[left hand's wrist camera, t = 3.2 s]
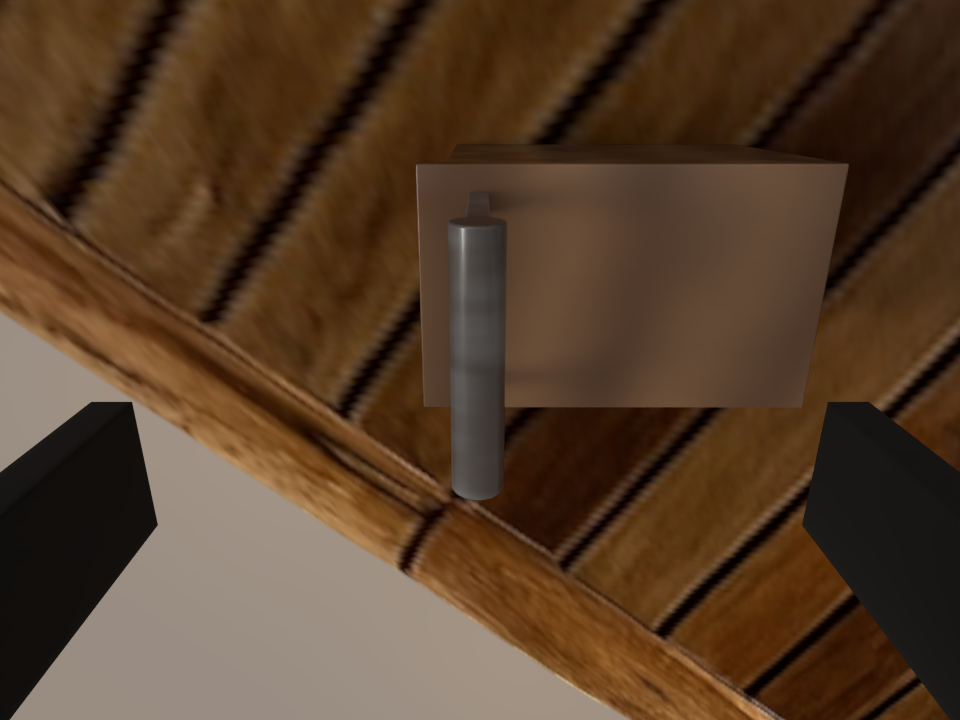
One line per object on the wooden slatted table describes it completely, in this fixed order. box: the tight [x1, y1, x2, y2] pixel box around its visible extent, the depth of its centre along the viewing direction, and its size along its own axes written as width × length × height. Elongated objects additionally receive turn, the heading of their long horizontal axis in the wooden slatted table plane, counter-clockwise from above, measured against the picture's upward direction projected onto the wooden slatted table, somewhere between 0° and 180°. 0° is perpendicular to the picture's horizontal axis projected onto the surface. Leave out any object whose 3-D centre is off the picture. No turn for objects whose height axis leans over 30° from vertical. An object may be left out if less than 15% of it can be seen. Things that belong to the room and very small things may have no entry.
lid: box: [416, 162, 849, 500], centre depth 21 cm, size 15×9×9 cm, turn 90°
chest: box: [447, 145, 834, 162], centre depth 30 cm, size 14×9×10 cm, turn 90°
